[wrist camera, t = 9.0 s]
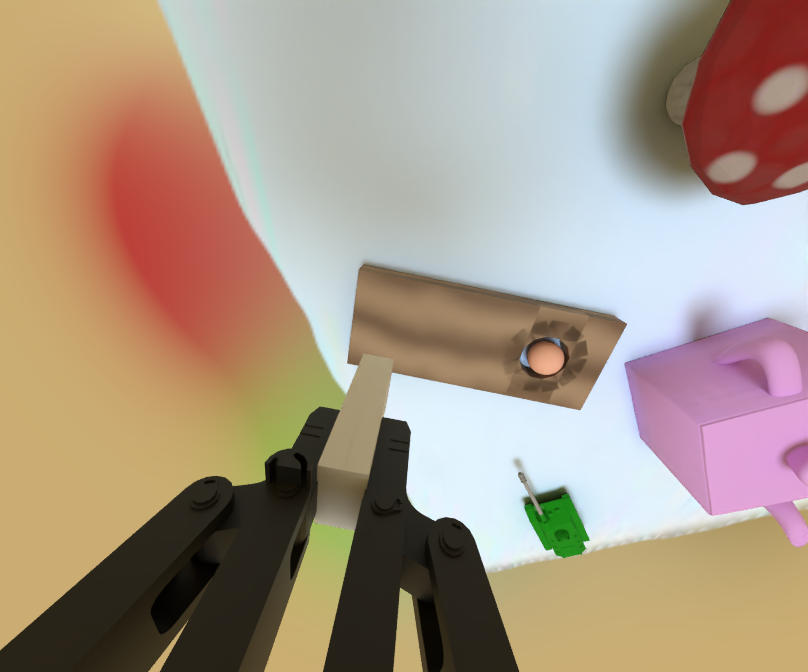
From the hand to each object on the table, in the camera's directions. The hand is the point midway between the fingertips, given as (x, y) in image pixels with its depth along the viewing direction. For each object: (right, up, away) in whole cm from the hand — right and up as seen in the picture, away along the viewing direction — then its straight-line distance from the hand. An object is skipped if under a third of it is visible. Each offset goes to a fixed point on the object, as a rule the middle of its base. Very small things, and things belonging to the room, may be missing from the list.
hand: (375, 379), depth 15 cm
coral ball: (+18, 0, +21) cm, 28 cm away
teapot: (+39, -5, +24) cm, 46 cm away
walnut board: (+10, +2, +23) cm, 25 cm away
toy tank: (+24, -23, +34) cm, 47 cm away
